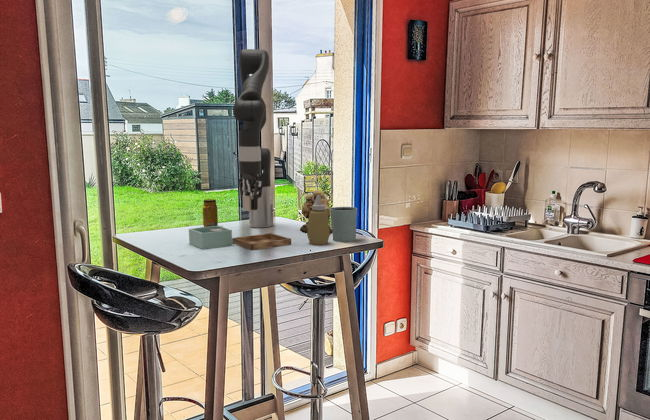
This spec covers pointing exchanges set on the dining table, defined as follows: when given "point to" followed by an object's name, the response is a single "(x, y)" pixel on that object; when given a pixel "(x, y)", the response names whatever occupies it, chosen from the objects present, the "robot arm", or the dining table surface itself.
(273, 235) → the walnut tray
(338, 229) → the grey green cup
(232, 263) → the dining table surface
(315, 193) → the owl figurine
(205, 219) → the condiment
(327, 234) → the squeeze bottle
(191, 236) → the teal bin
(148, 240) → the dining table surface
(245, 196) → the beige matte cube
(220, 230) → the grey brown block
